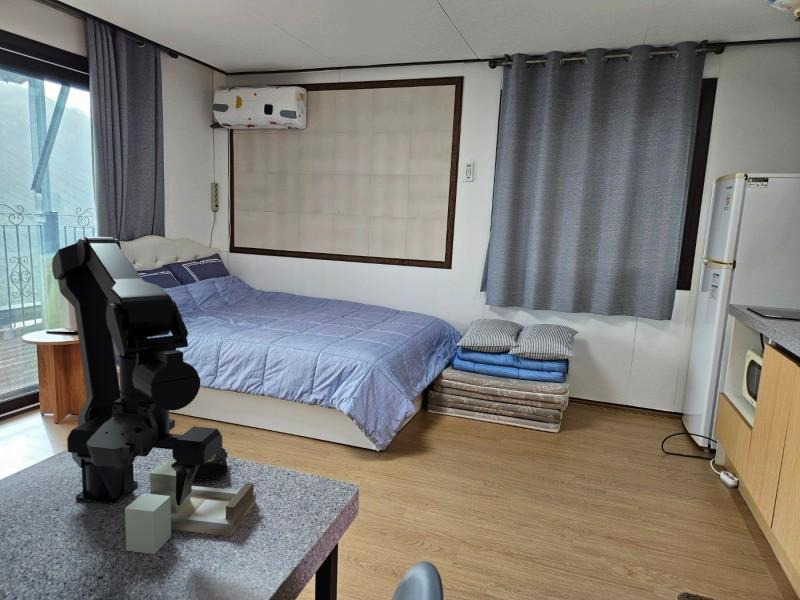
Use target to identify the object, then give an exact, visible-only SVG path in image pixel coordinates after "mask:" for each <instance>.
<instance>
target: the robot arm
mask: <svg viewBox="0 0 800 600" xmlns="http://www.w3.org/2000/svg"><path fill="white" fill-rule="evenodd" d="M51 267H52V268H51V271H52V275H53V278H54V279H55V280H57V283H58V290H59V292H60V294H61V295H62V296H63V297H64V298H65V299H66V300H67V301H68V302H69V304H71V305H72V307H73V308H74V309H73V310H74V316H75V322H76V323H75V324H76V330H77V336H78V344H79V351H80V357H81V358H80V359H81V364H82V373H83V379H84V385H85V394H86V400H85V402H84V403H83V406H82V408H81V409H80V412H79V414H78V416H77V426H76V427H74V428H72V429H71V430H70V431H69V433H68V435H67V438H66V443H67V444H66V445H67V446H66V447H67V452H68V453H71V458H72V460H73V461H74V462H75V463H76V465H77V466H78V468H79V469H81V480H82V481H81V483H82V491H81V492H79V493H78V494H77V495H75V500H76V501H84V502H91V503H101V504H109V505H110V504H112V505H113V504H115V503H116V502H118V501H119V500H120V499H122V498H123V497H124V496H125V495H126V494H128V493H129V492H130V491H132V490H133V489H134V488H135V487H136V486H137V487H138V483H139V482H138V480H135V479H134V478H135V477H134V462H135V460H136V458H137V457H147V456H148V455H149V454H150V453H151V451H152V450H153V449H164V450H171V451H172V458H173V459H174V461H173V462H174V463H173V464H172V465H171V467H172V468H173V469H174V470H175V471H176V503H177V505H179V506H180V505H181V504H182V503H183V502H184V500H185V497H186V495H187V492H188V490H189V488H190V485H191V483H193V480H194V479H193V478H194V476H195V473H196V471H197V469H198V467H199V466H200V465H202V464H205V463H206V462H207V461H208V460H209V459H210V458H211V457H212V456H213V455H214V454H216V453H217V452H218V451H219V450H220V449H221V448H223V435H222V433H221V432H220V430H219V429H218V428H216V427H215V428H213V427H203V426H192V427H191V428H190V429H188V430H187V431H185V432H184V433H183V434H177V433H176V434H175V433H170V432H171V430H173V429H174V428H175V427H176V420H175V419H174V418H173V419H172V418H170V411H178V410H181V409H183V408H186V407H187V406H188V405H190V404H191V403H192V402H193V401H194V400H195V398H196V397H197V395H198V394H199V391H200V388H201V378H200V376H199V373H198V371H197V369H196V368H195V367H194V366H193V365H192V364H190V363H188V362H186V361H184V352H183V351H181V350H179V349H182V348H188V347H189V342H188V336H189V331H188V329H187V326H186V325H185V322H184V319H183V317H182V314H181V313H180V312H181V311H180V309H179V308H178V305H177V303H176V301H175V300H174V299H173V298H172V296H171V295H170V294H169V293H168V292H167V291H166V290H165V289H164V288H162V287H161V286H160V285H158V284H154V283H151V282H148V281H145V280H143V278H142V277H141V276H140V274H139V273H138V270H136V269H135V267H134V266H133V264H132V263H131V261H130V260H129V259H128V257H127V256H126V254H125V253H124V252H123V251H122V246H121V242H120V241H119V239H118V238H114V237H112V236H84V237H82V238H79V239H78V240H77V242H76V243H73V244H70V245H68V246H64V247H62V248H59V249H57V252H56V253H55V254H54V255H53V257H52V263H51ZM170 333H171V335H169V334H170ZM114 345H115V347H116V350H117V353H118V354H119V355H118V362H119V363H118V364H119V374H118V368H117V362H116V355H115V348H114Z"/></svg>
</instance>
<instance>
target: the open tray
mask: <svg viewBox="0 0 800 600" xmlns="http://www.w3.org/2000/svg"><path fill="white" fill-rule="evenodd" d="M174 462H175V461H168V460H165V461H163V462H162V463H161V464H160V465H158V466H157V467H156V468H155V469H153V470H152V471H150V472H149V487H150V488H149V490H150V493H149V494H155V495H164V496H170V502H171V530H174V531H182V532H189V533H190V532H192V533H198V534H199V533H200V534H209V535H217V536H218V535H219V536H225V537H231V536H232V535H234V532H235V531H236V530H237V529H238V528H239V526H240V525H241V523H242V522H243V521H244V519H245V518H246V517H247V515H248V514H249V513H250V512H251V510H252V509H253V508H254V506H255V505H256V504H257V493H256V492H254V482H253V483H252V482H245V483H244V484H243V486H242V487H241V488H240V489H239V490H236V489H226V488H216V487H205V486H199V485H198V486H197V485H192V483H193V482H192V483H191V485H190V488H189V490H188V492H187V495H186V497H185V500H184V502H183V503H182V504H181V505H180V506H179V505H177V503H176V471H175V470H174V469H173V468H172V467H171V465H172V464H173V463H174Z"/></svg>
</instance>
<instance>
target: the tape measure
mask: <svg viewBox="0 0 800 600" xmlns="http://www.w3.org/2000/svg"><path fill="white" fill-rule="evenodd" d="M228 453H229V452H228V451H227V450H226V449H225V448H224V447H222V448H221V449H220V450H219V451H218V452H217V453H216V454H214V455H213V456H212V457H211V458H210V459H209V460H208V461H207V462H206V463H205V464H202V465H200V466H199V467H198V469H197V471H196V473H195V476H194V478H193V480H196V481H209V480H213V479H217V478H223V477H224V476H226V475H227V474H228V462H227V458H228Z"/></svg>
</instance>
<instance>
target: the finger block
mask: <svg viewBox="0 0 800 600" xmlns="http://www.w3.org/2000/svg"><path fill="white" fill-rule="evenodd" d="M124 524H125V549H126V551H128V552H137V553H142V554H143V553H145V554H152V555H155V554H156V553H157V552H158V551H159V550H160V549H161V548H162V547H163V546H164V545H165V544H166V542H167V541H169V540H170V539H171V538H172V529H171V502H170V496H164V495H155V494H150V493H142V494H141V495H139V496H138V497H137V498H136V499H134V500H133V501H132V502H131V503H130V504H128V505H127V506H126V507H125V508H124Z"/></svg>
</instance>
